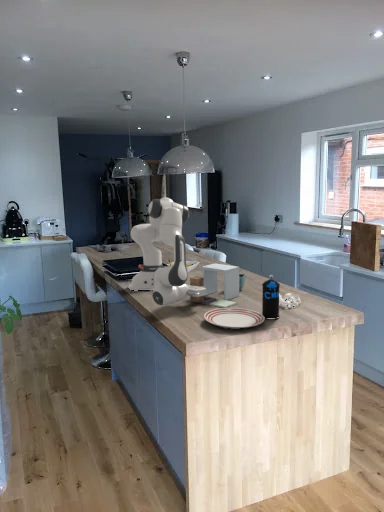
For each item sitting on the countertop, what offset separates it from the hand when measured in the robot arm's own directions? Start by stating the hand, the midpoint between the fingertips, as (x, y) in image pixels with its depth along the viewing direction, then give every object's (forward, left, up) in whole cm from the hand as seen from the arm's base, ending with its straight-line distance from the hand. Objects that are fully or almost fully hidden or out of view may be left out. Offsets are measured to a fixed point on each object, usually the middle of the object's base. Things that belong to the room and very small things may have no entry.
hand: (198, 286), depth 228 cm
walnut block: (-1, 0, -7) cm, 7 cm away
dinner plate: (+4, -36, -9) cm, 37 cm away
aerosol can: (+23, -36, -9) cm, 43 cm away
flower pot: (+31, +16, -9) cm, 36 cm away
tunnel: (+17, +9, -9) cm, 21 cm away
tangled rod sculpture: (+43, -19, -9) cm, 48 cm away
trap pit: (+5, +2, -9) cm, 10 cm away
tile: (+11, -8, -9) cm, 16 cm away
